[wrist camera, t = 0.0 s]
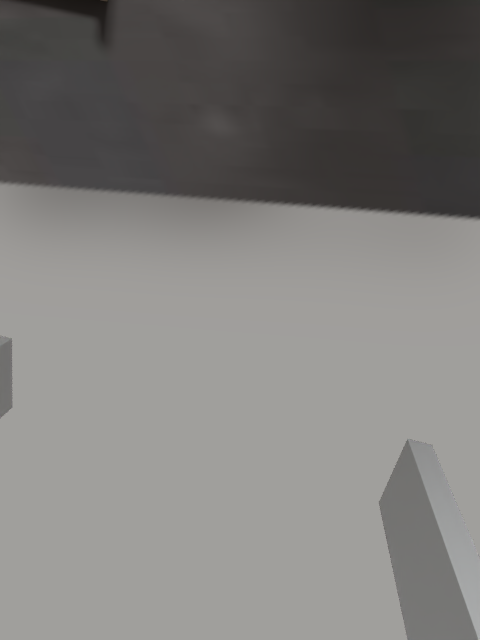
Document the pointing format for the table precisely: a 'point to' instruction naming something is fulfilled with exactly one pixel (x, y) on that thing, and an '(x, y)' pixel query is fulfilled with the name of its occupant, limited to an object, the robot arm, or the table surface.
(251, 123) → the table surface
